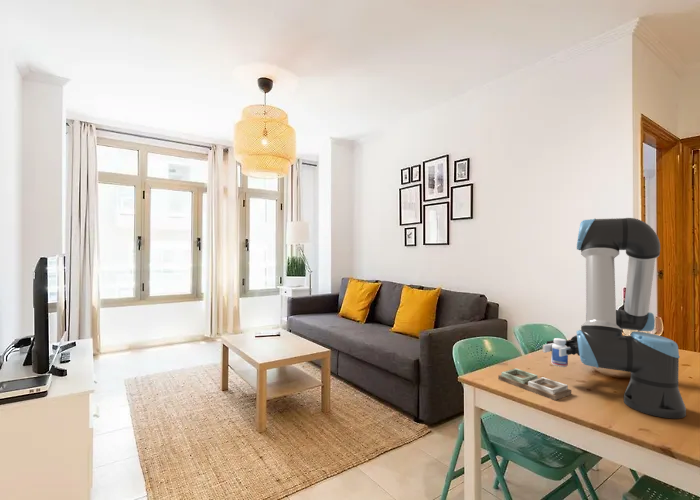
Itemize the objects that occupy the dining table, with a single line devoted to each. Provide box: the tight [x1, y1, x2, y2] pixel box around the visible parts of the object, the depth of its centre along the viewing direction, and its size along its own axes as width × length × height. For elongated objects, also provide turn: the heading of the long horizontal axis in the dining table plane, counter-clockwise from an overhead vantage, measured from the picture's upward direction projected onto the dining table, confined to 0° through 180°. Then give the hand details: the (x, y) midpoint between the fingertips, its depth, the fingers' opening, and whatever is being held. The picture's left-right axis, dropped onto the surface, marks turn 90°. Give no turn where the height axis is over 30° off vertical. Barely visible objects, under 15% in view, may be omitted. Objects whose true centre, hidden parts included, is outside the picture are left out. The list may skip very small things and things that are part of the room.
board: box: [497, 368, 572, 401], centre depth 131 cm, size 22×10×3 cm, turn 31°
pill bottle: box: [550, 337, 569, 368], centre depth 135 cm, size 6×5×10 cm
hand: (551, 350), depth 132 cm, fingers closed on pill bottle, 5 cm apart
